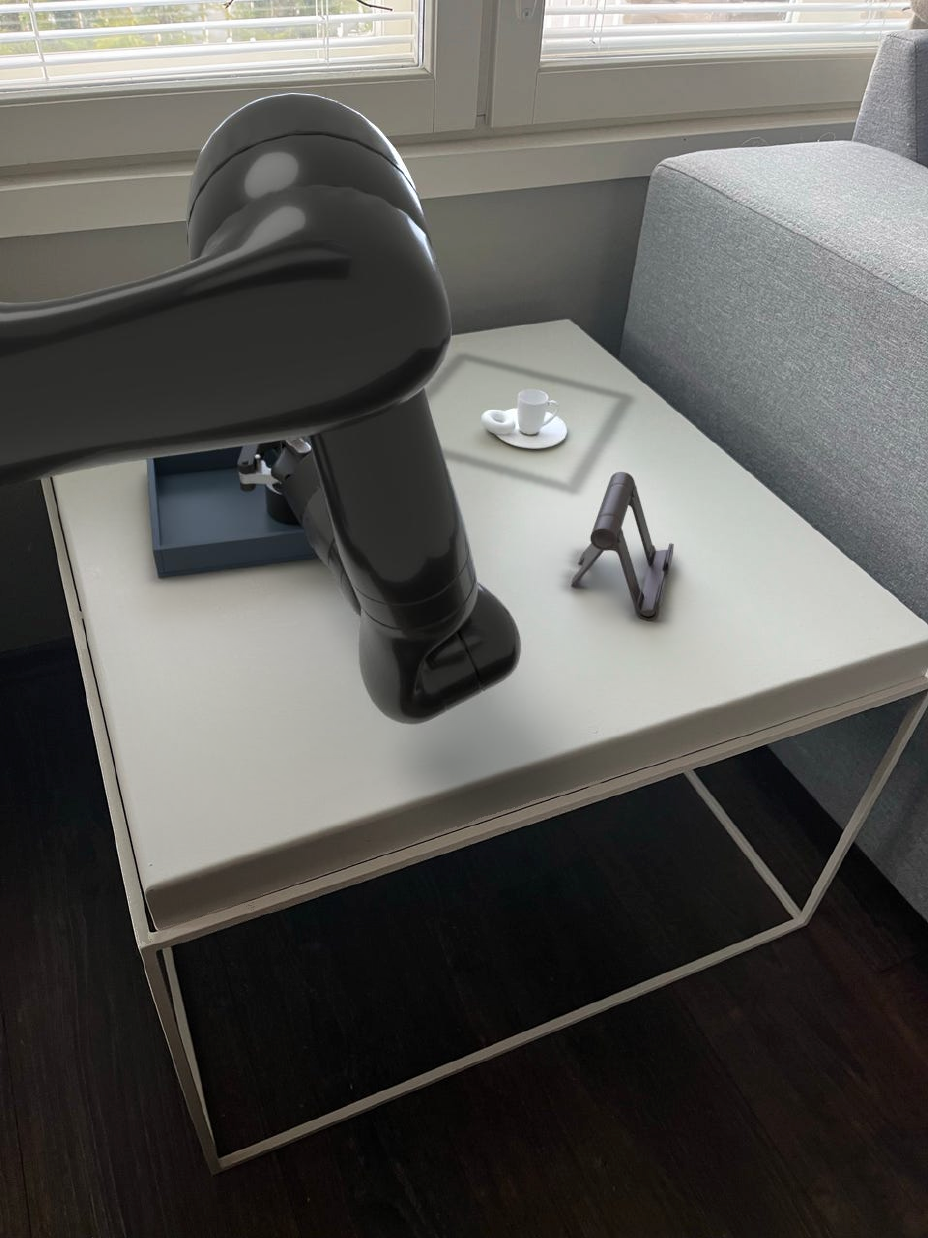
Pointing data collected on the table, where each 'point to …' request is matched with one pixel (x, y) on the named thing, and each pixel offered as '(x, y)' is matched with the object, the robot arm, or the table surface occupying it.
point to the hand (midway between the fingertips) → (282, 406)
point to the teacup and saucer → (527, 422)
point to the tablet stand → (612, 538)
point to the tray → (215, 517)
